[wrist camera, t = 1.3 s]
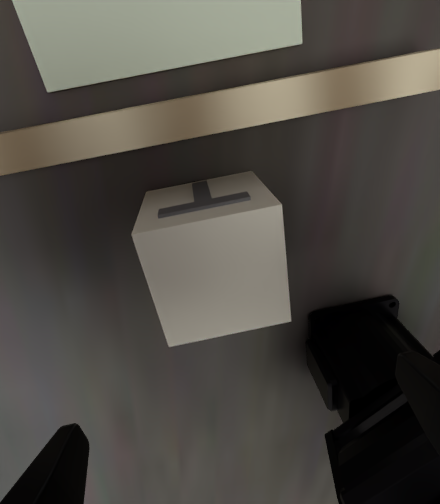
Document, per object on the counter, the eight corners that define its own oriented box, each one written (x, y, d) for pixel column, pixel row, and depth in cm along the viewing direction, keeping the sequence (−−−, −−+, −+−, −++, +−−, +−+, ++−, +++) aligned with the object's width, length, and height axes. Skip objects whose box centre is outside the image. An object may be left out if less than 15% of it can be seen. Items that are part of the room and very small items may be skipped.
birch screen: (417, 51, 16) (475, 42, 13) (413, 85, 16) (468, 83, 13) (-62, 144, 15) (-124, 157, 12) (-44, 174, 16) (-98, 194, 13)
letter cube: (251, 167, 18) (281, 200, 12) (262, 261, 20) (291, 321, 15) (145, 188, 17) (129, 231, 12) (171, 280, 20) (168, 347, 15)
